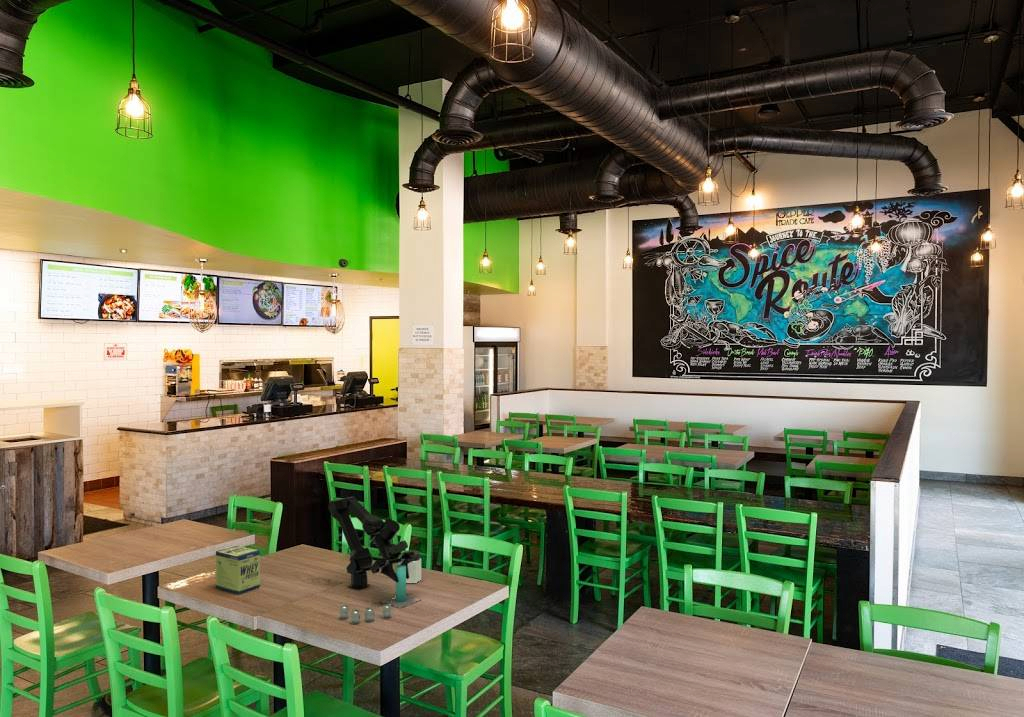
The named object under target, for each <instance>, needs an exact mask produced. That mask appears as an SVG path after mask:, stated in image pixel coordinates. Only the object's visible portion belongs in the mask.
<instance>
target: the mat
mask: <svg viewBox="0 0 1024 717" xmlns="http://www.w3.org/2000/svg"><path fill="white" fill-rule="evenodd" d="M415 598H416V597H414V596H411V595H408V594H406V601H404V602H397V601H396V598H395V599H392V598H391V597H389V598H386V599H383V600H381V601H382V602H384V603H387V604H391V605H394V606H397V607H396V608H398V607H403V608H405V607H404V606H406V605H408V604H411V603H413V602H414V601H415ZM413 599H414V601H413ZM391 601H392V602H391ZM394 602H395V603H394ZM384 603H383V604H384ZM387 604H386V605H387ZM413 604H414V603H413ZM411 605H412V604H411ZM394 606H393V607H394ZM408 606H409V605H408ZM406 607H407V606H406Z"/></svg>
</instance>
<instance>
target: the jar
mask: <svg viewBox="0 0 1024 717" xmlns="http://www.w3.org/2000/svg"><path fill="white" fill-rule="evenodd" d="M408 551H413V552H414V553H415V555H416V556H415V557H414V558H413V560H412V561H411V562H410V563H409V564H408V572H409V579H407V578H406V583H416V584H417V582H418V581H419V582H421V581H422V558H421V552H420V551H419V550H414V549H411V550H406V551H402V552H401V555H400V557H401V556H402V555H403V554H404V553H405V552H408ZM420 580H421V581H420ZM419 582H418V583H419Z"/></svg>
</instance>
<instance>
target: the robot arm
mask: <svg viewBox="0 0 1024 717" xmlns="http://www.w3.org/2000/svg"><path fill="white" fill-rule="evenodd" d="M327 506H328V507H327V508H328V511H329V513H330V514H331V517H332V518H333V519H334V520H336V521H338V524H339V526H340V529H341V531H342V534H343V536H344V538H345V541H346V544H347V545H348V549H349V551H350V555H349V564H348V565H347V566H346V573H347V574H350V584H349V585H347V586H348V588H350V587H351V588H350V589H354V590H357V589H359V590H361V588H362V589H364V588H363V587H365V588H367V587H366V586H368V587H370V586H369V585H371V584H369V583H368V573H367V572H368V571H371V573H372V574H378V573H380V574H382V575H384V576H387V578H389V579H391V580H393V581H394V582H395V583H396V582H399V580H398V577H397V575H396V570H395V569H394V567H393V566H394V565H395V564H398V566H399V565H405V566H406V578H407V579H409V572H408V564H409V563H410V562H411V561H412V560H413V558H414V557H415V556H416V555H415V553H414V552H413V551H409V550H406V549H407V548H409V544H408V543H407V542H408V541H406V540H401V541H399V543H397V544H396V543H392V541H391V540H393V539H394V537H395V536H396V535H397V534H398V532H399V531H400V529H401V528H400V527H401V526H400V524H399V522H397V521H396V520H393V519H392V518H391V517H389V518H386V519H385V521H384V520H383V519H382V518H381V517H379V516H377V515H373V514H371V513H370V512H369V511H368V509H367V508H365V507H364V506H363V504H361V502H359V501H358V498H357V497H355V496H350V497H348V496H347V497H345V498H339V499H334V500H331V501H330V502H329V504H328V505H327ZM351 513H352V514H353V516H354V517H356V519H357V520H358V521H359V522H360V523H361V524H362V526H361V527H362V529H363V531H364V532H365V533H366V534H367V536H372V538H371V541H370V545H375V546H376V548H377V550H378V551H379V553H378V557H382V558H379V559H375V561H374V562H373V558H372V557H373V555H372V553H371V552H370V548H369V547H363V545H362V543H361V541H360V538H359V536H358V533H357V531H356V528H355V526H354V524H353V521H352V518H351V516H350V515H351ZM373 535H375V536H373ZM404 551H408V552H405V553H404V554H403V555H402V556H401V553H402V552H404Z"/></svg>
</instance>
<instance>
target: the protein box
mask: <svg viewBox="0 0 1024 717" xmlns="http://www.w3.org/2000/svg"><path fill="white" fill-rule="evenodd" d="M260 553H261V551H260V550H259V549H253V548H249V547H245V546H244V547H243V546H240V545H235V546H231V547H227V548H223V549H219V550H216V551H215V589H217V590H221V591H225V592H227V593H231V594H234V593H235V594H234V595H238V594H240V595H241V594H242V593H243V594H245V592H246V593H248V591H249V592H252V591H254V589H255V590H257V589H256V588H258V589H260V588H261V554H260ZM259 587H260V588H259ZM251 590H252V591H251ZM243 594H242V595H243Z"/></svg>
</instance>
